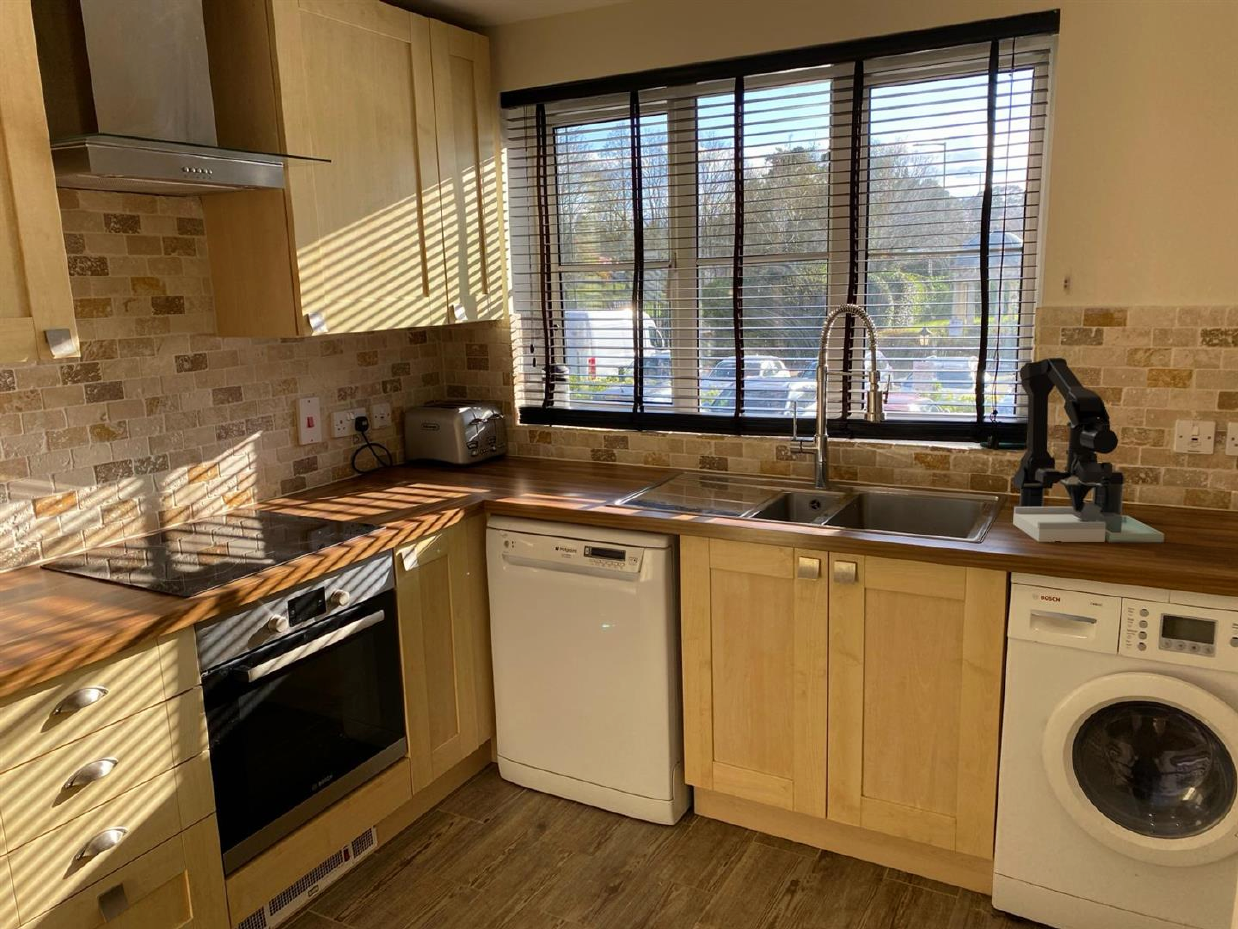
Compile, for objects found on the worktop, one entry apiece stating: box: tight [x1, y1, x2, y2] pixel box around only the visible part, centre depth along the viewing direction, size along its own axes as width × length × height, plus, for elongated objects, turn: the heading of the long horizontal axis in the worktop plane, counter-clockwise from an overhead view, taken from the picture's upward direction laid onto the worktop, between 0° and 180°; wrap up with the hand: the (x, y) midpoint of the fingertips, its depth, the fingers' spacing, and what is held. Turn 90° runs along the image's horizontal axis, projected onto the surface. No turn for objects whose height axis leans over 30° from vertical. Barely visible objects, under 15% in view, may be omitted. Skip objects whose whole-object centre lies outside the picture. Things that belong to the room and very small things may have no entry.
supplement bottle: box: [1091, 480, 1124, 516], centre depth 236 cm, size 7×7×12 cm
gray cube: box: [1097, 513, 1123, 533], centre depth 221 cm, size 4×4×4 cm
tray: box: [1096, 515, 1165, 543], centre depth 221 cm, size 18×12×2 cm, turn 176°
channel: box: [1012, 506, 1106, 543], centre depth 222 cm, size 17×15×4 cm
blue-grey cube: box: [1072, 500, 1101, 522], centre depth 221 cm, size 4×4×4 cm
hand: (1076, 511), depth 221 cm, fingers closed
